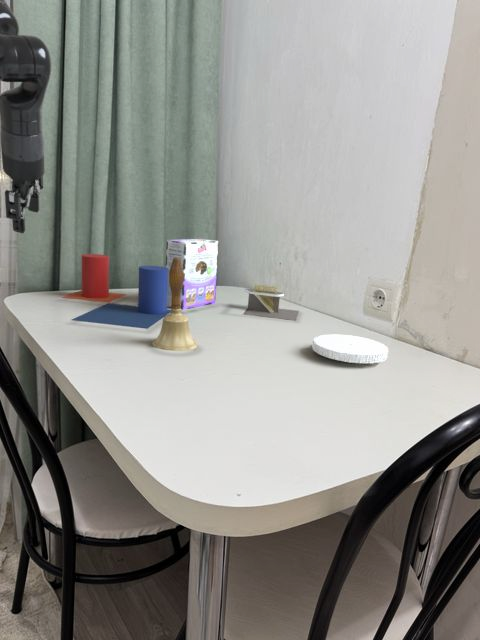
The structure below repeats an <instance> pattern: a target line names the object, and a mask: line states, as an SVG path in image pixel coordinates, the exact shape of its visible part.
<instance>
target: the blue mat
mask: <svg viewBox="0 0 480 640" xmlns="http://www.w3.org/2000/svg"><path fill="white" fill-rule="evenodd" d="M170 313H171V309H167V312H166V313H164V314H145V313H141V312H139V311H138V305H130V304H129V305H128V304H120V303H113V302H110V303H105V304H102V305H101V306H99V307H96V308H93V309H92V310H89V311H88V312H85V313H83V314H81V315H78V316H77V317H76V316H75V317H74V318H72V319H71V321H75V322H83V323H93V324H101V325H109V326H119V327H126V328H127V327H128V328H136V329H145V330H148V329H149V328H151V327H152V326H153V325H155V324H156V323H158V322H159V321H161V320H163V318H164V317H165V316H167V315H169V314H170Z"/></svg>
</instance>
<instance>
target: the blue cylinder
mask: <svg viewBox="0 0 480 640" xmlns="http://www.w3.org/2000/svg"><path fill="white" fill-rule="evenodd" d="M167 285H168V268H166V266H165V267H164V266H159V265H140V266H138V290H137V291H138V293H137V294H138V295H137V298H138V299H137V302H138V303H137V306H138V311H139V312H141V313H145V314H164V313H166V312H167V310H168V309H167V308H168V307H167Z"/></svg>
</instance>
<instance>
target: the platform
mask: <svg viewBox="0 0 480 640" xmlns="http://www.w3.org/2000/svg"><path fill="white" fill-rule="evenodd" d="M253 287H254V288H245V289H244V292H245V293H248V300H247V301H248V302H247V308H245V311H244V312H243V313H242V315H247V316H253V317H263V318H271V319H272V318H273V319H280V320H289V321H297V318H298V316H299V313H300V310H296V309H295V310H294V309H287V308H286V309H285V308H280V298H281V297H284V296H285V292H280V291H278V286H273V285H266V284H265V285H264V284H258V283H257V284H256V283H255V284H254V286H253Z"/></svg>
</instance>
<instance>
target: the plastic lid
mask: <svg viewBox="0 0 480 640" xmlns="http://www.w3.org/2000/svg"><path fill="white" fill-rule="evenodd" d="M311 350H312V351H313V352H315V353H316V354H318V355H320V356H323V357H325V358H328V359H331V360H335V361H339V362H340V361H341V362H345V363H352V364H377V363H382V362H384V361H386V360H387V359H388V356H389V355H388V353H389V348H388V346H387V345H385V344H384V343H382V342H379V341H377V340H375V339H371V338H366V337H363V336H358V335H351V334H339V333H334V334H333V333H331V334H330V333H329V334H327V333H326V334H321V335H316V336H315V337H314V338H313V340H312V349H311Z"/></svg>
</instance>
